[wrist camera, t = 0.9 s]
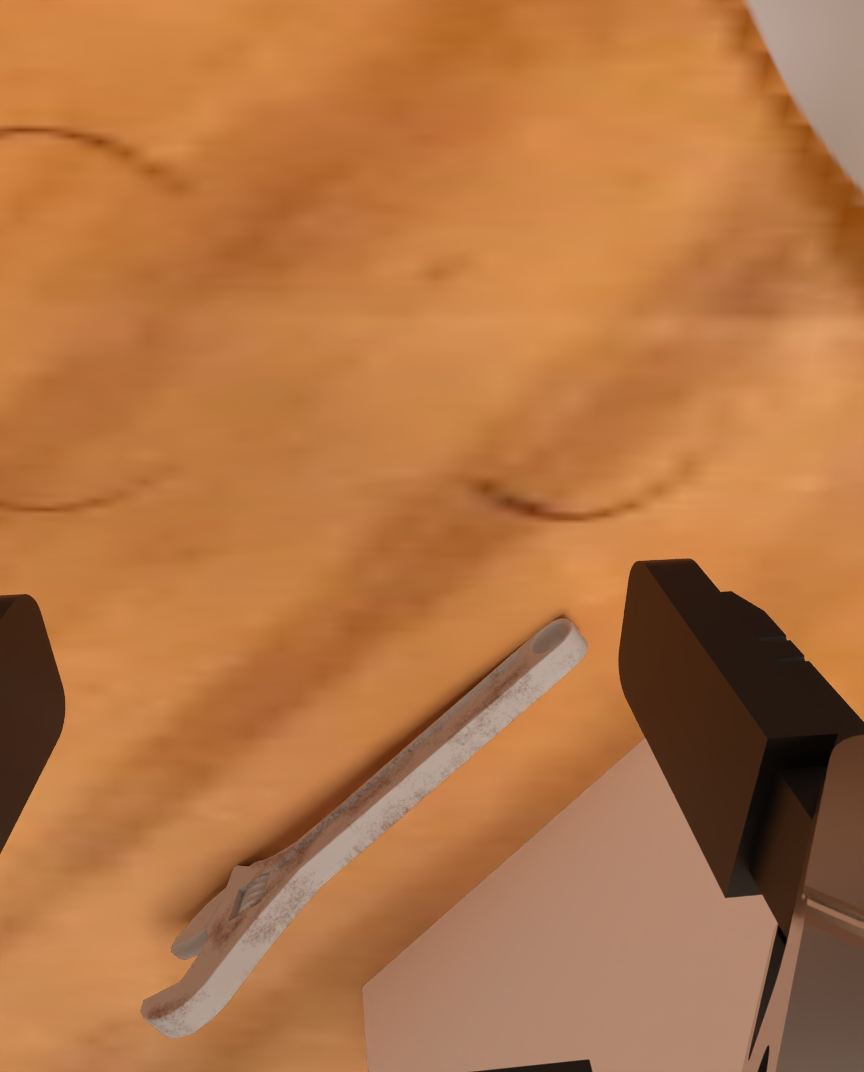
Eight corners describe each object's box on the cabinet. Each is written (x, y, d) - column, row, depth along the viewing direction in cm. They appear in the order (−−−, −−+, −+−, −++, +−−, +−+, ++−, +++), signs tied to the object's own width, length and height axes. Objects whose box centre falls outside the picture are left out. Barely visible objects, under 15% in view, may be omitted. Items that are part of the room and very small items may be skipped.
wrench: (556, 621, 46) (173, 952, 43) (540, 599, 46) (151, 933, 43) (619, 663, 38) (158, 1069, 36) (600, 638, 38) (131, 1047, 35)
